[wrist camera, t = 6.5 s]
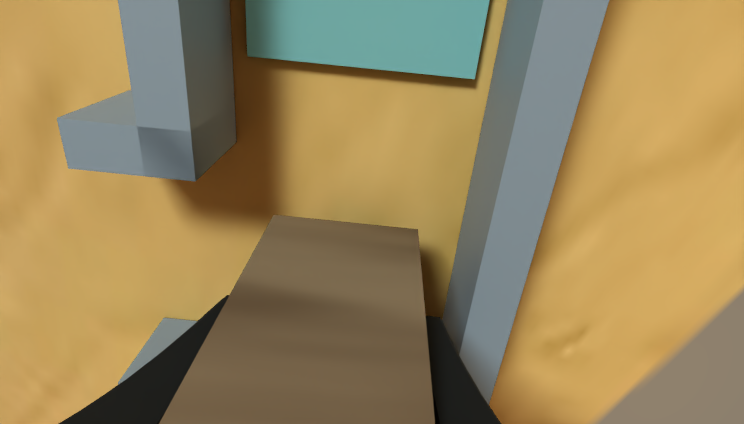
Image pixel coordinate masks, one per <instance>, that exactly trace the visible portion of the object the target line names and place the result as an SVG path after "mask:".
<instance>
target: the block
mask: <svg viewBox="0 0 744 424" xmlns="http://www.w3.org/2000/svg"><path fill="white" fill-rule="evenodd" d="M159 424H435V417H434V406H433V394H432V383H431V372H430V361H429V349H428V338H427V327H426V315H425V304H424V293H423V282H422V270H421V259H420V248H419V237H418V229H408V228H398V227H389V226H379V225H369V224H359V223H350V222H340V221H330V220H320V219H311V218H301V217H291V216H282V215H273V217H272V219H271V221H270V222H269V224H268V226H267V228H266V230H265V232H264V233H263V235H262V237H261V239H260V241H259V243H258V244H257V246H256V248H255V250H254V252H253V253H252V255H251V257H250V259H249V261H248V263H247V264H246V266H245V268H244V270H243V272H242V274H241V275H240V277H239V279H238V281H237V283H236V284H235V286H234V288H233V290H232V292H231V294H230V295H229V297H228V299H227V301H226V303H225V304H224V306H223V308H222V310H221V312H220V314H219V315H218V317H217V319H216V321H215V323H214V325H213V326H212V328H211V330H210V332H209V334H208V335H207V337H206V339H205V341H204V343H203V345H202V346H201V348H200V350H199V352H198V354H197V355H196V357H195V359H194V361H193V363H192V365H191V366H190V368H189V370H188V372H187V374H186V376H185V377H184V379H183V381H182V383H181V385H180V386H179V388H178V390H177V392H176V394H175V396H174V397H173V399H172V401H171V403H170V405H169V406H168V408H167V410H166V412H165V414H164V416H163V417H162V419H161V421H160V423H159Z"/></svg>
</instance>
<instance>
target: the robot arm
mask: <svg viewBox="0 0 744 424" xmlns="http://www.w3.org/2000/svg"><path fill="white" fill-rule="evenodd" d="M228 297H229V295H227V296H226V297H224V298H223V299H222V300H221V301H220V302H218V303H217V304H216V305H215V306H214V307H213V308H212V309H211V310H209V311H208V312H207V313H206V314H205V315H204V316H203V317H202V318H201V319H199V320H198V321H197V322H196V323H195V324H194V325H193V326H191V327H190V328H189V329H188V330H187V331H186V332H185V333H183V334H182V335H181V336H180V337H179V338H177V339H176V340H175V341H174V342H173V343H171V344H170V345H169V346H168V347H167V348H166V349H164V350H163V351H162V352H161V353H159V354H158V355H157V356H156V357H154V358H153V359H152V360H151V361H149V362H148V363H147V364H145V365H144V366H143V367H141V368H140V369H139V370H137V371H136V372H135V373H134V374H132V375H131V376H130V377H128V378H127V379H126V380H124V381H123V382H122V383H120V384H119V385H117V386H116V387H115V388H113V389H112V390H110V391H109V392H107V393H106V394H105V395H103V396H102V397H100V398H99V399H97V400H96V401H94V402H93V403H91V404H90V405H88V406H87V407H85V408H83V409H82V410H80V411H79V412H77V413H76V414H74V415H72V416H71V417H69V418H67V419H66V420H64V421H62V422H61V423H59V424H159V423H160V421H161V419H162V417H163V416H164V414H165V412H166V410H167V408H168V406H169V405H170V403H171V401H172V399H173V397H174V396H175V394H176V392H177V390H178V388H179V386H180V385H181V383H182V381H183V379H184V377H185V376H186V374H187V372H188V370H189V368H190V366H191V365H192V363H193V361H194V359H195V357H196V355H197V354H198V352H199V350H200V348H201V346H202V345H203V343H204V341H205V339H206V337H207V335H208V334H209V332H210V330H211V328H212V326H213V325H214V323H215V321H216V319H217V317H218V315H219V314H220V312H221V310H222V308H223V306H224V304H225V303H226V301H227V299H228ZM426 327H427V338H428V349H429V361H430V372H431V383H432V394H433V406H434V417H435V424H501V423H500V421H499V420H498V418H497V417H496V415H495V414H494V412H493V411H492V409H491V408H490V406H489V405H488V403H487V402H486V400H485V399H484V397H483V395H482V394H481V392H480V391H479V389H478V387H477V386H476V384H475V382H474V380H473V379H472V377H471V375H470V374H469V372H468V370H467V369H466V367H465V365H464V363H463V361H462V360H461V358H460V356H459V354H458V352H457V350H456V348H455V346H454V344H453V342H452V340H451V338H450V336H449V334H448V332H447V330H446V327H445V325H444V323H443V321H442V320H441V319H440V317H433V316H426Z"/></svg>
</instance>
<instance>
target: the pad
mask: <svg viewBox="0 0 744 424" xmlns="http://www.w3.org/2000/svg"><path fill="white" fill-rule="evenodd" d="M489 1H490V0H245V4H246V32H247V56H250V57H260V58H270V59H280V60H289V61H299V62H309V63H319V64H329V65H339V66H349V67H359V68H368V69H378V70H388V71H398V72H408V73H418V74H428V75H438V76H448V77H457V78H467V79H475V75H476V70H477V64H478V59H479V54H480V48H481V43H482V38H483V32H484V27H485V22H486V17H487V11H488V6H489Z"/></svg>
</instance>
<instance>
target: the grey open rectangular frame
mask: <svg viewBox="0 0 744 424" xmlns="http://www.w3.org/2000/svg"><path fill="white" fill-rule="evenodd" d="M608 2H609V0H508V1H507V6H506V11H505V16H504V21H503V26H502V30H501V35H500V40H499V45H498V50H497V55H496V60H495V65H494V69H493V74H492V79H491V84H490V89H489V94H488V99H487V104H486V109H485V113H484V118H483V123H482V128H481V133H480V138H479V143H478V148H477V152H476V157H475V162H474V167H473V172H472V177H471V182H470V187H469V192H468V196H467V201H466V206H465V211H464V216H463V221H462V226H461V231H460V235H459V240H458V245H457V250H456V255H455V260H454V265H453V270H452V275H451V279H450V284H449V289H448V294H447V299H446V304H445V309H444V314H443V318H442V321H443V323H444V325H445V327H446V330H447V332H448V334H449V336H450V338H451V340H452V342H453V344H454V346H455V348H456V350H457V352H458V354H459V356H460V358H461V360H462V361H463V363H464V365H465V367H466V369H467V370H468V372H469V374H470V375H471V377H472V379H473V380H474V382H475V384H476V386H477V387H478V389H479V391H480V392H481V394H482V395H483V397H484V399H485V400H486V402H487V403H488V405H489V402H490V399H491V396H492V392H493V389H494V386H495V382H496V379H497V376H498V372H499V369H500V365H501V362H502V359H503V355H504V352H505V349H506V345H507V342H508V339H509V335H510V332H511V329H512V325H513V322H514V318H515V315H516V312H517V308H518V305H519V302H520V298H521V295H522V292H523V288H524V285H525V281H526V278H527V275H528V271H529V268H530V265H531V261H532V258H533V255H534V251H535V248H536V244H537V241H538V238H539V234H540V231H541V228H542V224H543V221H544V218H545V214H546V211H547V208H548V204H549V201H550V197H551V194H552V191H553V187H554V184H555V181H556V177H557V174H558V171H559V167H560V164H561V160H562V157H563V154H564V150H565V147H566V144H567V140H568V137H569V134H570V130H571V127H572V123H573V120H574V117H575V113H576V110H577V107H578V103H579V100H580V97H581V93H582V90H583V87H584V83H585V80H586V76H587V73H588V70H589V66H590V63H591V60H592V56H593V53H594V50H595V46H596V43H597V39H598V36H599V33H600V29H601V26H602V23H603V19H604V16H605V13H606V9H607V6H608ZM118 4H119V10H120V17H121V24H122V30H123V37H124V43H125V50H126V57H127V63H128V70H129V76H130V83H131V90H132V91H126V92H124V93H121V94H118V95H116V96H113V97H111V98H108V99H105V100H103V101H100V102H97V103H95V104H92V105H90V106H87V107H84V108H82V109H79V110H76V111H74V112H71V113H69V114H66V115H63V116H61V117H58V118H57V122H58V126H59V130H60V134H61V139H62V143H63V147H64V152H65V156H66V160H67V165H68V168H70V169H79V170H89V171H99V172H109V173H118V174H128V175H138V176H148V177H157V178H167V179H177V180H187V181H196V180H197V179H199V178H200V177H201V176H202V175H203V174H204V173H205V172H206V171H207V170H208V169H209V168H210V167H211V166H212V165H213V164H214V163H215V162H216V161H217V160H218V159H219V158H220V157H221V156H223V155H224V154H225V153H226V152H227V151H228V150H229V149H230V148H231V147H232V146H233V145H234V144H235V143H236V142H237V140H236V120H235V100H234V79H233V59H232V39H231V18H230V0H118ZM196 322H197V321H190V320H181V319H171V318H163V320H162V321H161V323H160V324H159V325H158V327H157V328H156V330H155V331H154V333H153V334H152V335H151V337H150V338H149V340H148V341H147V342H146V344H145V345H144V347H143V348H142V349H141V351H140V352H139V354H138V355H137V357H136V358H135V359H134V361H133V362H132V364H131V365H130V366H129V368H128V369H127V371H126V372H125V373H124V375H123V376H122V378H121V379H120V381H119V382H118V384H120V383H122V382H123V381H124V380H126V379H127V378H128V377H130V376H131V375H132V374H134V373H135V372H136V371H137V370H139V369H140V368H141V367H143V366H144V365H145V364H147V363H148V362H149V361H151V360H152V359H153V358H154V357H156V356H157V355H158V354H159V353H161V352H162V351H163V350H164V349H166V348H167V347H168V346H169V345H170V344H171V343H173V342H174V341H175V340H176V339H177V338H179V337H180V336H181V335H182V334H183V333H185V332H186V331H187V330H188V329H189V328H190V327H191V326H193V325H194V324H195V323H196Z"/></svg>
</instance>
